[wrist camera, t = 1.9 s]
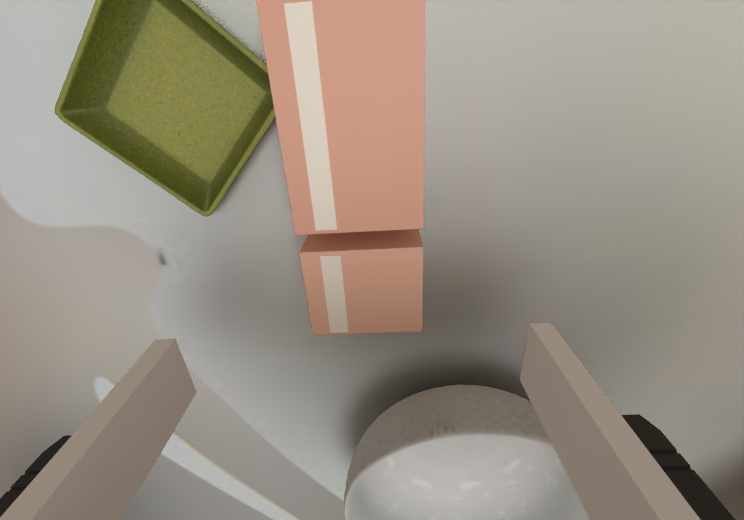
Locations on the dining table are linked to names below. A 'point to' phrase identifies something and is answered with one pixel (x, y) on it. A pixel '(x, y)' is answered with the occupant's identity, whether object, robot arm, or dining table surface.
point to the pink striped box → (349, 110)
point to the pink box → (364, 281)
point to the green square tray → (168, 96)
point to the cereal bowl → (459, 461)
